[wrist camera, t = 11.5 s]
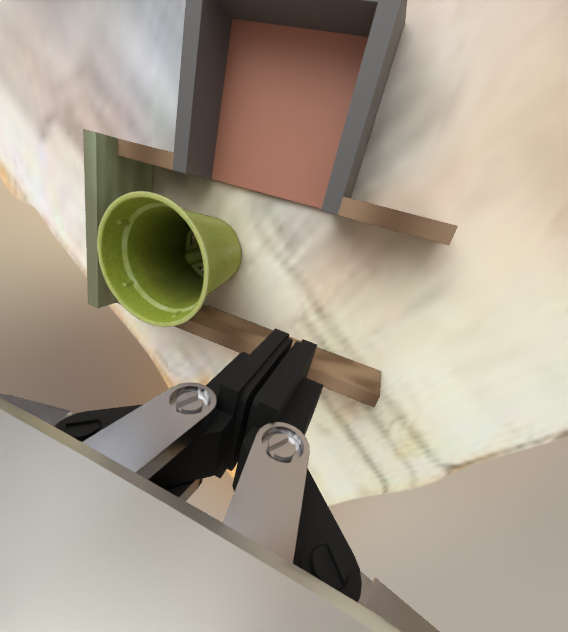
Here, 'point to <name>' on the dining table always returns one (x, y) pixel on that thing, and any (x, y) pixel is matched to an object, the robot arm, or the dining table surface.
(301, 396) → the robot arm
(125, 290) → the plant pot
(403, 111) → the dining table surface
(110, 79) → the dining table surface
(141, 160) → the lane
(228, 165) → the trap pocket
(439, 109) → the dining table surface
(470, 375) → the dining table surface
